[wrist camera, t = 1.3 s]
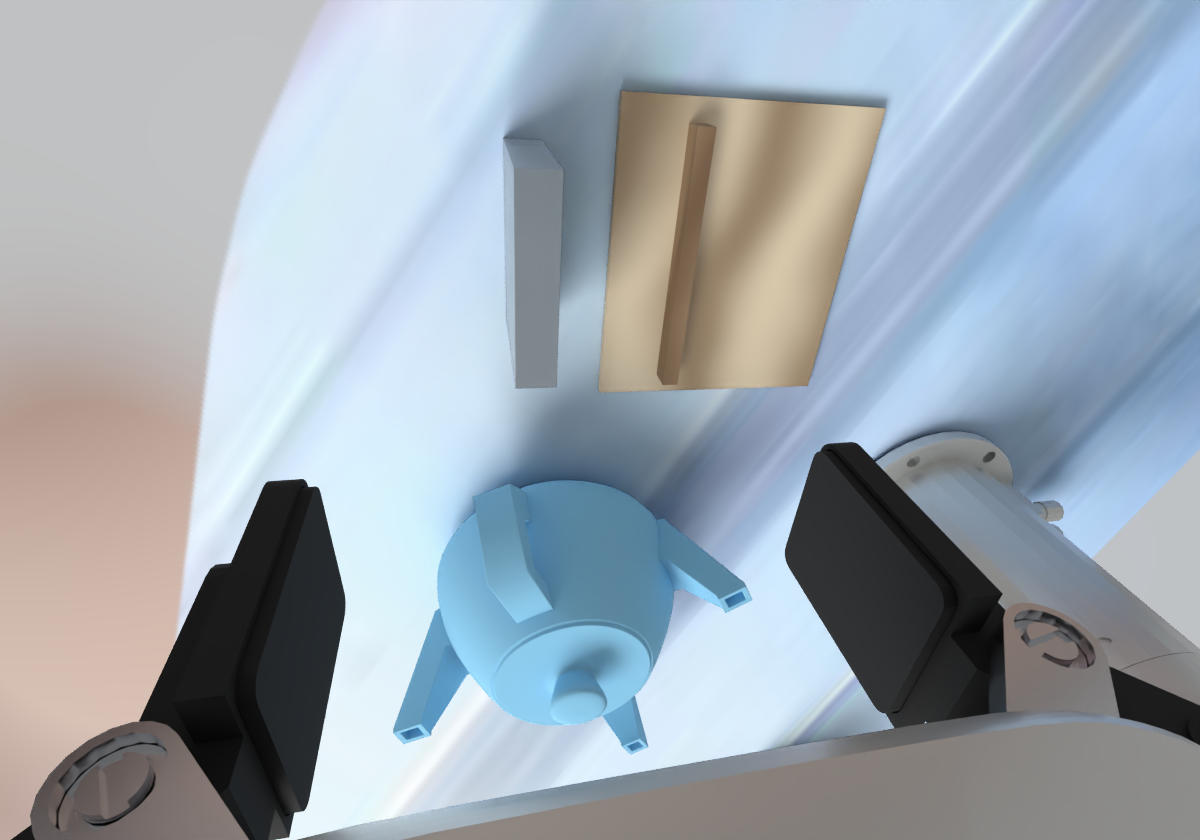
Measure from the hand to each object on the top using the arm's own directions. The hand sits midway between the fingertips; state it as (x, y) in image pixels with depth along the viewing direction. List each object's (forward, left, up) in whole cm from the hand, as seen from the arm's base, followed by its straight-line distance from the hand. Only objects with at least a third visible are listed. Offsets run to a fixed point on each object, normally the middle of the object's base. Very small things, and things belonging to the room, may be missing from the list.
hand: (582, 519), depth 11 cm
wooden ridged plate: (-10, +1, -19) cm, 22 cm away
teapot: (-2, +20, -19) cm, 28 cm away
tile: (0, 0, -19) cm, 19 cm away
